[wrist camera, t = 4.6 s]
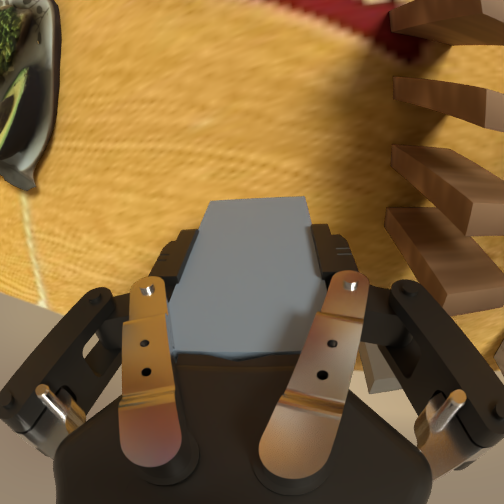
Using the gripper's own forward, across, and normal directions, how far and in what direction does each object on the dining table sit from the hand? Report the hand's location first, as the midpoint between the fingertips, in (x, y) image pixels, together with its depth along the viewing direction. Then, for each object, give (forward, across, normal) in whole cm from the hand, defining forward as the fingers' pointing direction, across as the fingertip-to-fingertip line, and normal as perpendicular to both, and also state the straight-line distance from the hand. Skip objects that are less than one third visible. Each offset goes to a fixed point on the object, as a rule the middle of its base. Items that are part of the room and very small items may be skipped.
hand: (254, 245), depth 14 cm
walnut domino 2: (+8, -12, -7) cm, 16 cm away
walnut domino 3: (+8, -12, -2) cm, 15 cm away
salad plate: (+9, +21, -12) cm, 26 cm away
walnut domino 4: (+8, -12, +3) cm, 15 cm away
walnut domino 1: (+8, -12, -11) cm, 18 cm away
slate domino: (+3, 0, 0) cm, 3 cm away
